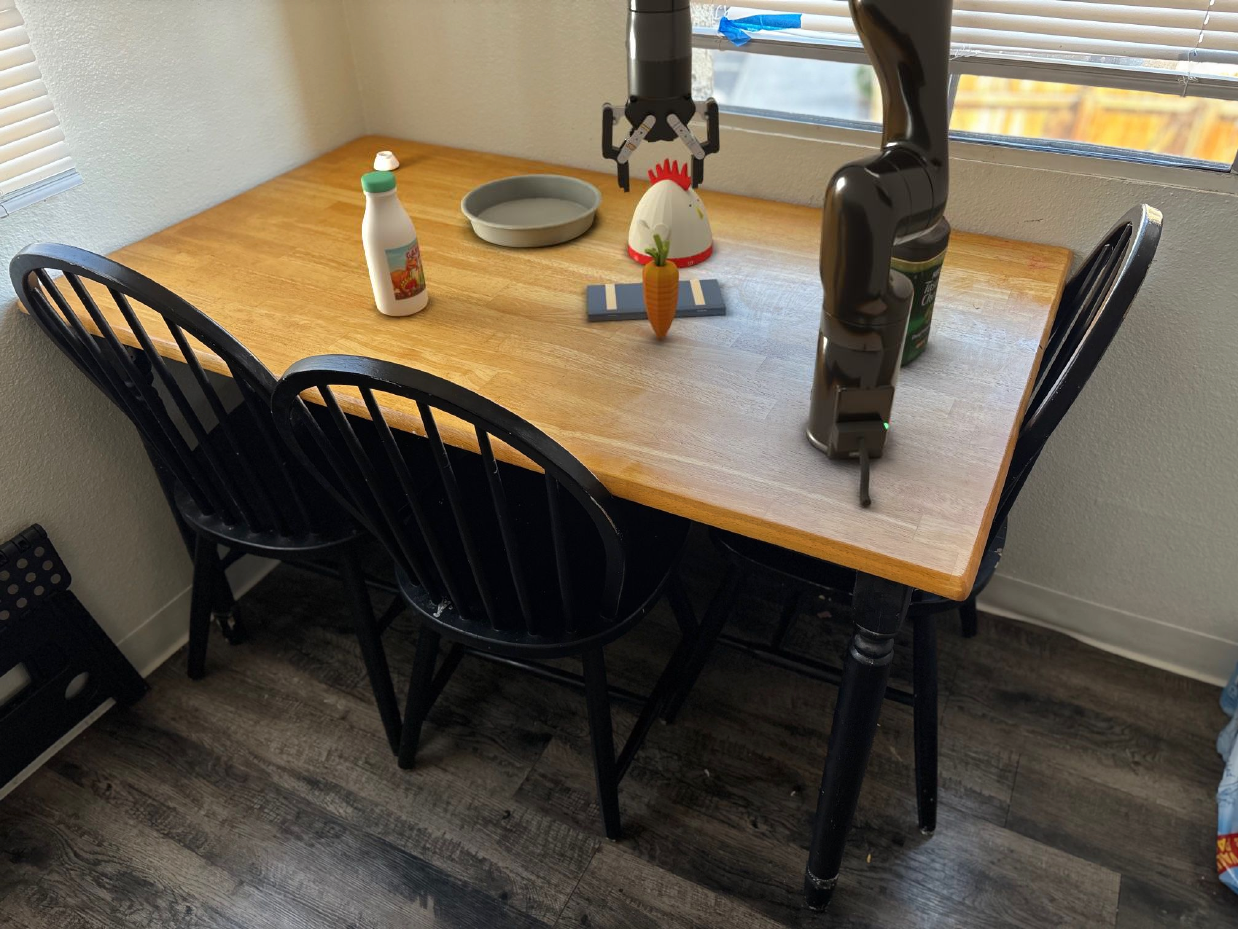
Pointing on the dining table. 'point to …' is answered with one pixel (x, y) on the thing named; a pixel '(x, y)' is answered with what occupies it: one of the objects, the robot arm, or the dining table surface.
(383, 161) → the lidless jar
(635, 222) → the kitchen timer
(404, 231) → the milk bottle
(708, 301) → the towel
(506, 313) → the dining table surface
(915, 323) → the coffee jar
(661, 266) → the carrot
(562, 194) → the cake pan
